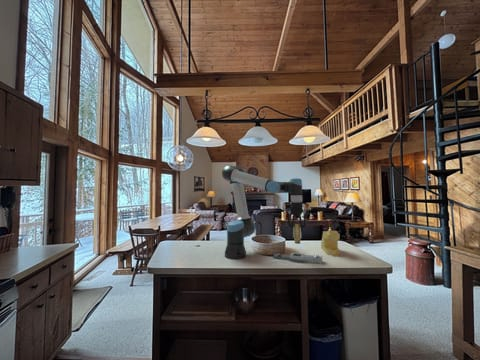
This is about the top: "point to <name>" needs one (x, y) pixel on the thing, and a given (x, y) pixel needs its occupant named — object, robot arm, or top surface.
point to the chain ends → (300, 257)
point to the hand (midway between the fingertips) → (297, 237)
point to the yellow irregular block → (330, 243)
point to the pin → (297, 233)
